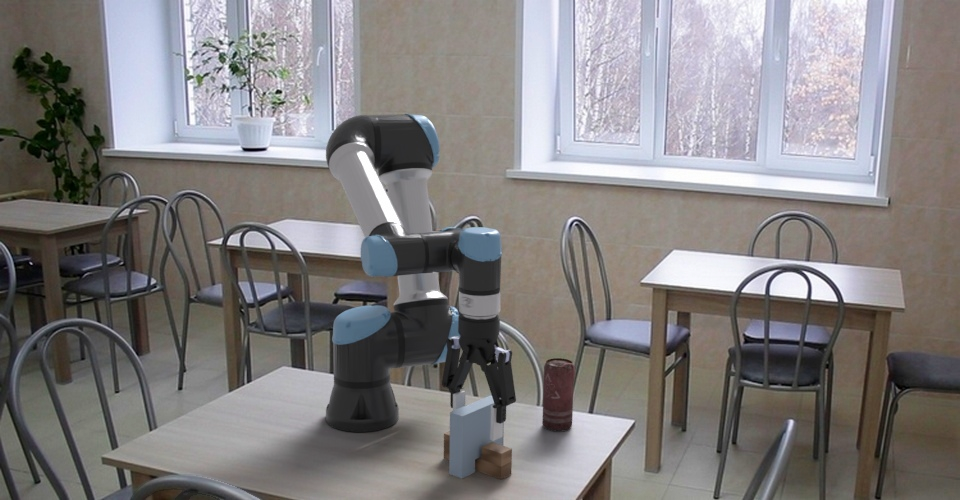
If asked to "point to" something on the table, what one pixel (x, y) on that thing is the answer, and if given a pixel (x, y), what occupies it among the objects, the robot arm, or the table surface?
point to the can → (558, 394)
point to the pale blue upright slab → (470, 435)
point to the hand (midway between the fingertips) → (477, 431)
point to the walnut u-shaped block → (488, 458)
